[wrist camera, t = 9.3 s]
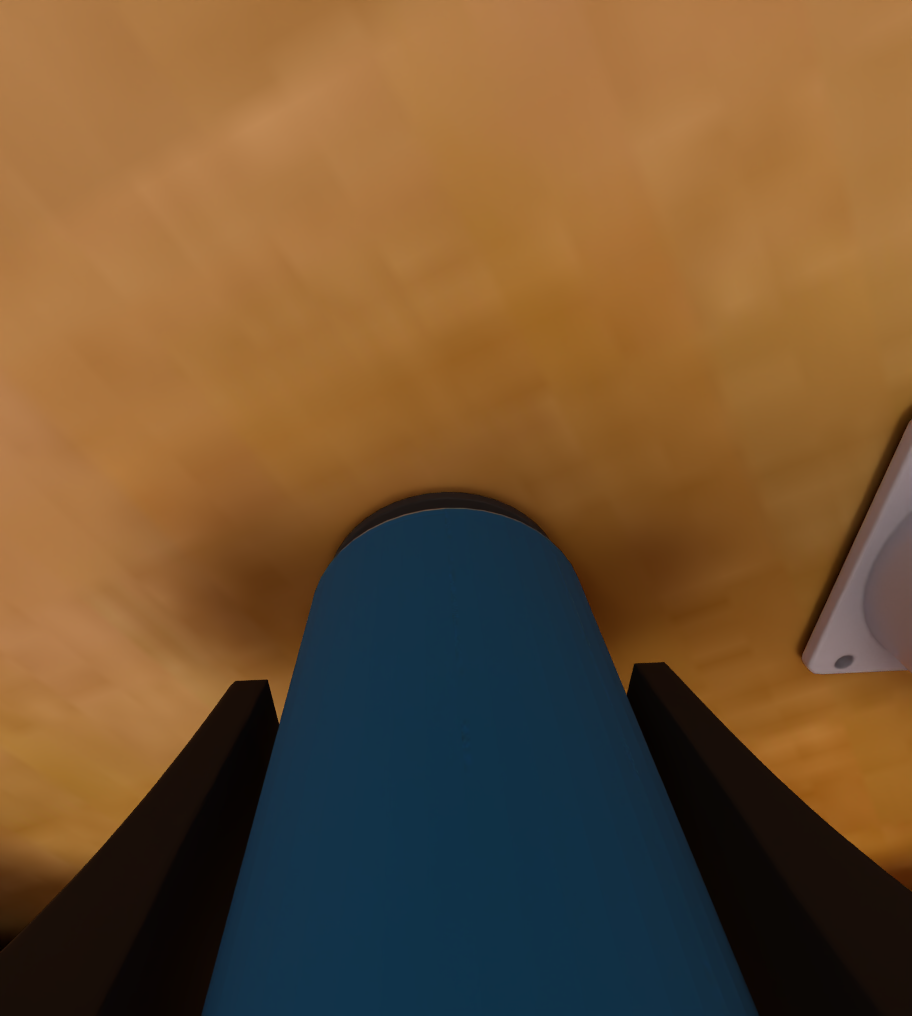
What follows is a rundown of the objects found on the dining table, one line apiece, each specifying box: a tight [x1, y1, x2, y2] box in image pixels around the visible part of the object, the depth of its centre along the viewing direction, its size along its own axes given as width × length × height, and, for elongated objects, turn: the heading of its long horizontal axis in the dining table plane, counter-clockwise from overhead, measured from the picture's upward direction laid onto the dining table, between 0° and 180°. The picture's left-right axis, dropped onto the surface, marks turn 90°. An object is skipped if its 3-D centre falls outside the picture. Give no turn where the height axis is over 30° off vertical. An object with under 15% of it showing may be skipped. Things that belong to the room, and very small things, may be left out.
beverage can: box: [201, 508, 759, 1016], centre depth 8 cm, size 6×6×12 cm
